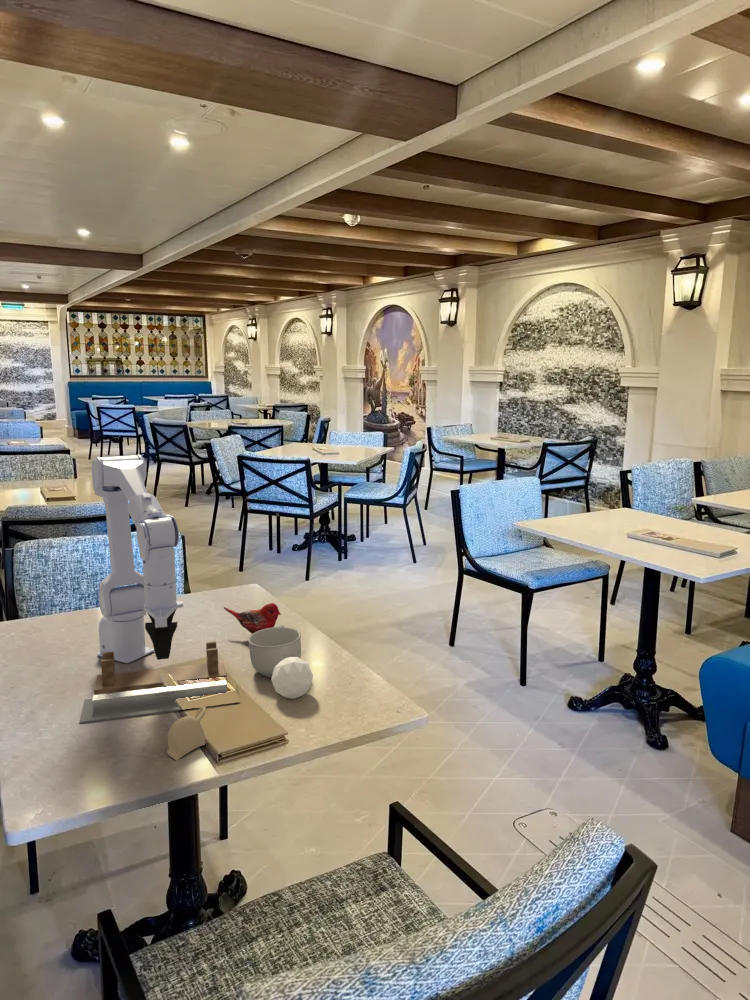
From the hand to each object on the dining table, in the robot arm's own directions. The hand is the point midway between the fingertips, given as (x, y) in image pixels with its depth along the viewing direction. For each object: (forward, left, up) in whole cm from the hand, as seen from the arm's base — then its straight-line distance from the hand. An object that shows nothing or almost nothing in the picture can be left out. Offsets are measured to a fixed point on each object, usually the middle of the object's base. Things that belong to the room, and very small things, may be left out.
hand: (163, 650), depth 131 cm
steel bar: (+1, -2, -9) cm, 9 cm away
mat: (+1, -2, -9) cm, 10 cm away
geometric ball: (+21, +12, -10) cm, 26 cm away
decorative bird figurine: (-4, +31, -10) cm, 33 cm away
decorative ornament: (+17, -12, -10) cm, 23 cm away
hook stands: (-6, +5, -9) cm, 12 cm away
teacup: (+11, +21, -10) cm, 26 cm away
